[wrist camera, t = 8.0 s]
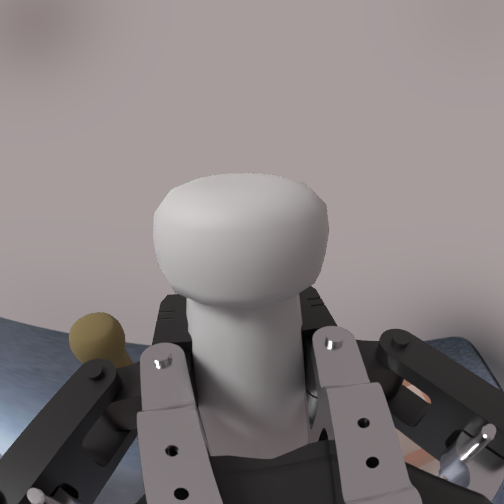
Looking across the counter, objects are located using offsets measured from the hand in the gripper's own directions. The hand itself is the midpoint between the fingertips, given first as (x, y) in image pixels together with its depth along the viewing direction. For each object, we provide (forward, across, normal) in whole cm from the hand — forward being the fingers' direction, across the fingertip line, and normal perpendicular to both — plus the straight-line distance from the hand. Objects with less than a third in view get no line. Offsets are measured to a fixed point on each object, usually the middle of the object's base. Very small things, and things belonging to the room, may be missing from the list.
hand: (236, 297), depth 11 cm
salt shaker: (-3, 0, +8) cm, 8 cm away
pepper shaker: (+8, +12, +18) cm, 23 cm away
